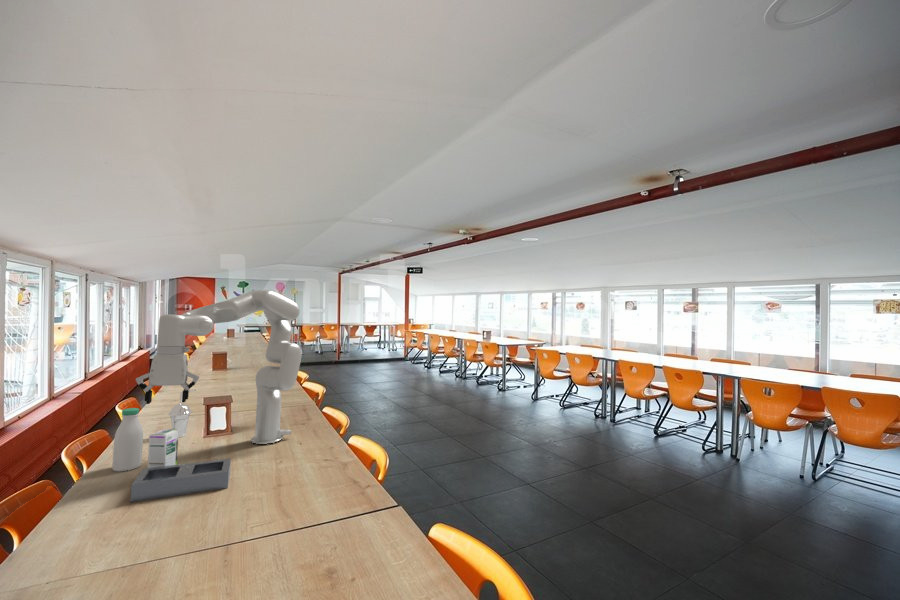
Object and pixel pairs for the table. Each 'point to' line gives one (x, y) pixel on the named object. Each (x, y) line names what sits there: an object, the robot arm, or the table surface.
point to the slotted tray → (180, 479)
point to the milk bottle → (128, 442)
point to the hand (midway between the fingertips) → (166, 402)
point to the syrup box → (163, 448)
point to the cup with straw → (180, 416)
